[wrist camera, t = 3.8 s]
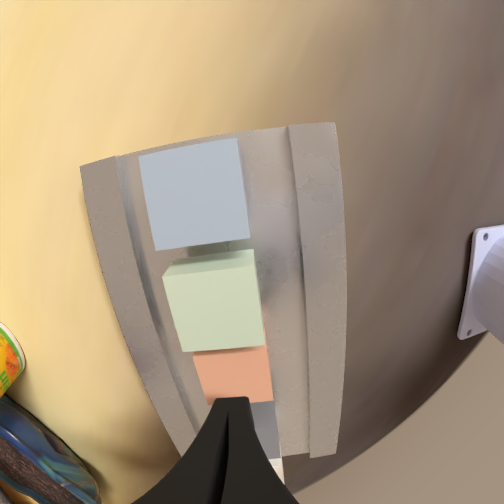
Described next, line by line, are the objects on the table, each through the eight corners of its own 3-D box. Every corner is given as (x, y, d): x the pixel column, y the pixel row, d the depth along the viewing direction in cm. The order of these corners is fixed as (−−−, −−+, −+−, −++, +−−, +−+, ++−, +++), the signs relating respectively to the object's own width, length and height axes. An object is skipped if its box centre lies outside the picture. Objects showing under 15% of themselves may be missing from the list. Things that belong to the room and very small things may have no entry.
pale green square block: (253, 248, 12) (254, 265, 10) (262, 319, 13) (265, 344, 11) (174, 259, 12) (161, 276, 11) (190, 327, 13) (183, 352, 12)
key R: (273, 399, 15) (276, 426, 13) (278, 433, 16) (280, 458, 14) (213, 404, 15) (210, 430, 13) (225, 437, 16) (223, 461, 14)
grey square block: (238, 141, 11) (236, 137, 9) (250, 225, 12) (250, 238, 10) (155, 156, 11) (138, 156, 9) (169, 236, 12) (155, 251, 10)
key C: (264, 326, 15) (266, 349, 13) (271, 375, 16) (273, 400, 14) (198, 333, 15) (192, 356, 13) (211, 381, 16) (208, 405, 14)
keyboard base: (329, 125, 13) (338, 121, 11) (334, 438, 19) (338, 452, 18) (92, 165, 13) (76, 167, 12) (186, 450, 20) (184, 465, 18)
